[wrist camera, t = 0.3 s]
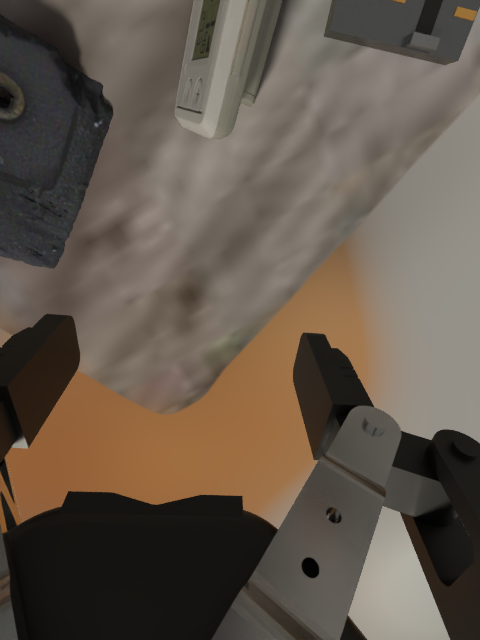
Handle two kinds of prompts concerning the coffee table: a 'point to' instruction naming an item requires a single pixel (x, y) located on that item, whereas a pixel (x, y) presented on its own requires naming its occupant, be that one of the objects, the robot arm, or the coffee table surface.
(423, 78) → the coffee table surface
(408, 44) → the console
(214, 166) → the coffee table surface
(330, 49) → the coffee table surface
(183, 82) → the digital clock
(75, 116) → the dark slate chunk
